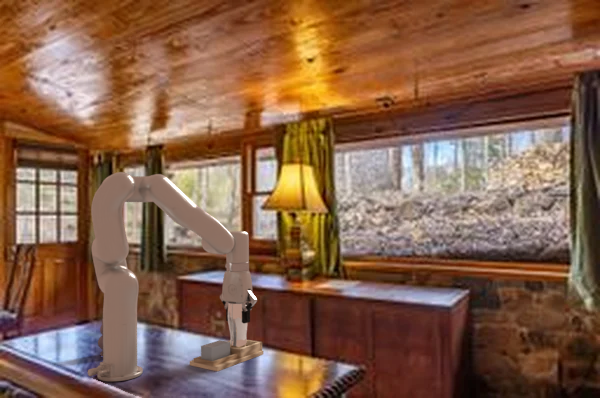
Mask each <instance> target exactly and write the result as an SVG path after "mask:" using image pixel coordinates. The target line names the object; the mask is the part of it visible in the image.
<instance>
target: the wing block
mask: <svg viewBox="0 0 600 398" xmlns="http://www.w3.org/2000/svg"><path fill="white" fill-rule="evenodd" d="M227 341H228V340H227ZM227 341H226V340H222V339H221V340H220V339H219V340H216V341H213V342H210V343H206V344H203V345H200V356H201V359H204V360H209V361H215V360H218V359H221V358H224V357H226V356H229V355H230V342H227Z"/></svg>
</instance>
